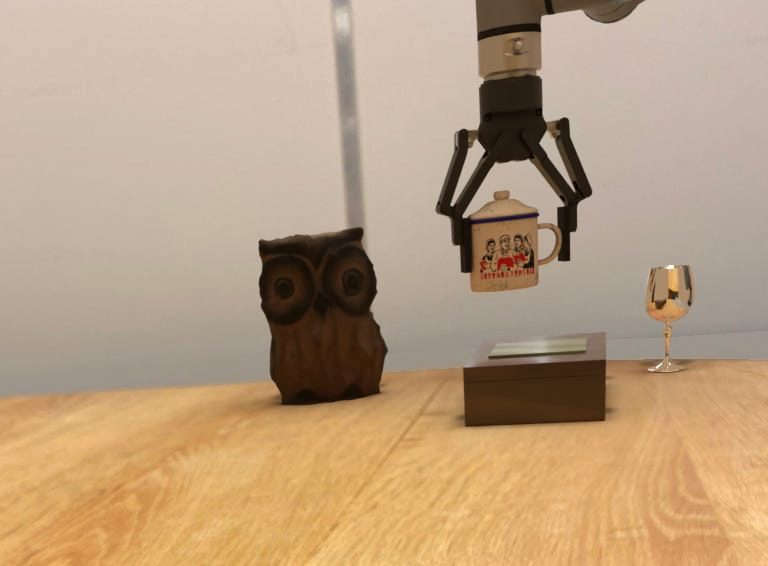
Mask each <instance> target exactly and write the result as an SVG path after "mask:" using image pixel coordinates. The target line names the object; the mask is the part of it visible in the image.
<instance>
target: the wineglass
mask: <svg viewBox="0 0 768 566" xmlns="http://www.w3.org/2000/svg"><path fill="white" fill-rule="evenodd" d="M645 281H646V282H645V286H644V293H643V305H644V306H643V307H644V309H645V312H646V314H647V315H648V316H649V317H650V318H651V319H653V320H655V321H657V322H660V323H663V324H665V325H664V327H663V332H662V333H663V337H664V345H665V346H664V358H663V360H662V361H661V363H659V364H657V365H655V366H651V367H649V368H647V371H648V372H652V373H673V372H679V371H683V370H686V366H684V365H679V364H676V363H675V362H672V360H671V357H670V343H671V337H672V334H673V328H672V325H671V324H672V323H674V322H676V321H679V320H681V319H682V318H684V317H685V316H687V315H688V314H689V313H690V311H691V310H692V308H693V306H694V301H695V295H696V294H695V291H696V290H695V281H694V275H693V270H692V265H689V264H680V265H679V264H677V265H675V264H674V265H663V266H656V267H650V268H649V269H648V274H647V277H646V280H645Z"/></svg>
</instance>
